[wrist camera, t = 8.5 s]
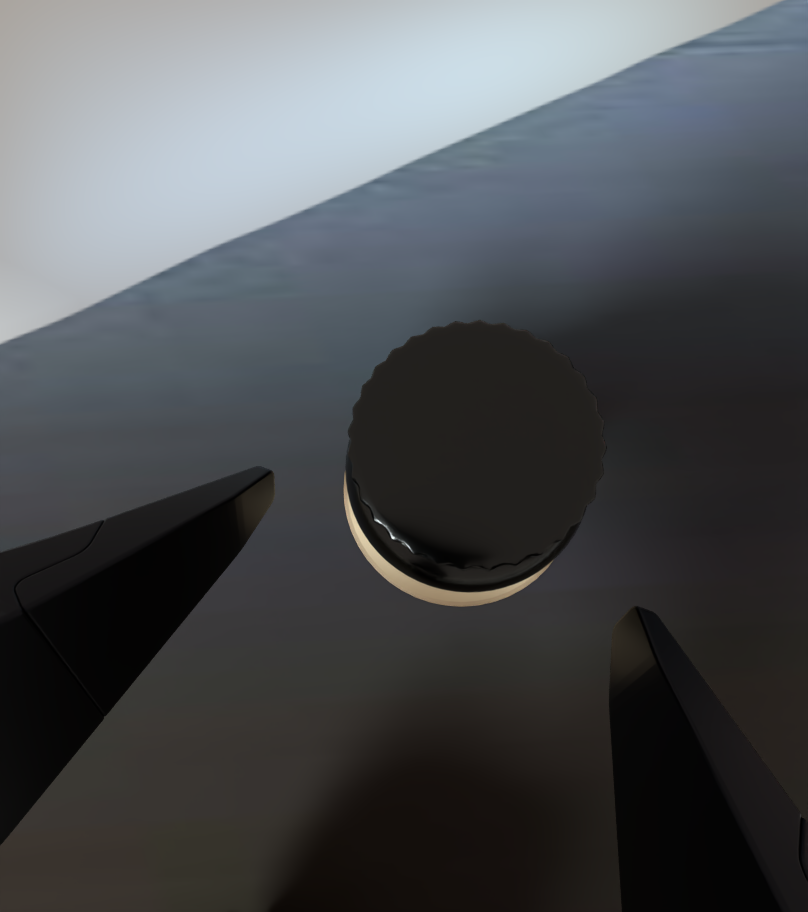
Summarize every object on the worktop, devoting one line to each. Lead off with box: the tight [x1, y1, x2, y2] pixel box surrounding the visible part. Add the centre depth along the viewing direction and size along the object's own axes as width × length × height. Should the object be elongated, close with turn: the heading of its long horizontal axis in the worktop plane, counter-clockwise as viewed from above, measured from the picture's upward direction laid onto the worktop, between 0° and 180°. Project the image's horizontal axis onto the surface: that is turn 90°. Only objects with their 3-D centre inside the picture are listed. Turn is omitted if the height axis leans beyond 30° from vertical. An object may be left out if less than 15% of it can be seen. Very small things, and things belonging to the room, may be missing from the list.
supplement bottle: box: [345, 320, 607, 593], centre depth 13 cm, size 7×7×12 cm
